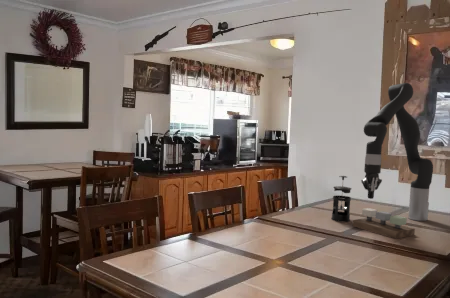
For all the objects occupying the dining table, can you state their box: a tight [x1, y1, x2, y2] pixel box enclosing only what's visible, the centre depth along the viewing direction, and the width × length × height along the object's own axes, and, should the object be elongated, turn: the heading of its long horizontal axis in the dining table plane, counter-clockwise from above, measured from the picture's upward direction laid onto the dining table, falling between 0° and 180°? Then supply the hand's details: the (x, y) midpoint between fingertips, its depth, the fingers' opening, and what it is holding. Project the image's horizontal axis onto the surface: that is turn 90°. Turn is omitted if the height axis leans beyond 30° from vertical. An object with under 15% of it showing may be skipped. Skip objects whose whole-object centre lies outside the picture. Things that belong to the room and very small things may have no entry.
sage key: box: [389, 215, 408, 229], centre depth 193 cm, size 5×5×6 cm
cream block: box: [361, 207, 378, 221], centre depth 207 cm, size 5×5×6 cm
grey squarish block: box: [375, 211, 393, 225], centre depth 200 cm, size 5×5×6 cm
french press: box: [330, 175, 352, 223], centre depth 219 cm, size 12×9×23 cm
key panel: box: [352, 217, 416, 239], centre depth 200 cm, size 14×24×3 cm, turn 32°
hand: (370, 198), depth 206 cm, fingers closed
